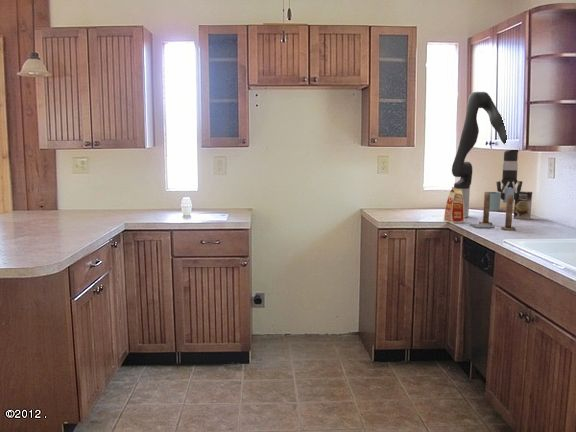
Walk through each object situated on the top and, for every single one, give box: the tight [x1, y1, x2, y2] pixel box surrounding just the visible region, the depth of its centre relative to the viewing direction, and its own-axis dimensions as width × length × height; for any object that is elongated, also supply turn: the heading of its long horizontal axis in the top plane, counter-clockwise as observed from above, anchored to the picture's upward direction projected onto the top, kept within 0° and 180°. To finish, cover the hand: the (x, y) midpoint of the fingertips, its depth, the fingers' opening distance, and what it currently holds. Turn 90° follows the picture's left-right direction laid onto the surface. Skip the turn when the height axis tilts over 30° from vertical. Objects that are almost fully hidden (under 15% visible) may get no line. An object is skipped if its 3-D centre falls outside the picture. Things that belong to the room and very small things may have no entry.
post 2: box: [500, 195, 516, 231], centre depth 296 cm, size 7×7×18 cm
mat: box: [469, 223, 495, 229], centre depth 305 cm, size 10×10×1 cm
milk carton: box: [443, 186, 465, 224], centre depth 322 cm, size 9×9×20 cm
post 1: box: [478, 191, 493, 226], centre depth 311 cm, size 7×7×18 cm
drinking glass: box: [489, 191, 502, 213], centre depth 368 cm, size 10×10×12 cm
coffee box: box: [513, 190, 533, 221], centre depth 334 cm, size 9×6×16 cm
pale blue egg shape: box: [502, 187, 515, 204], centre depth 311 cm, size 6×6×8 cm
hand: (508, 199), depth 312 cm, fingers closed on pale blue egg shape, 5 cm apart
